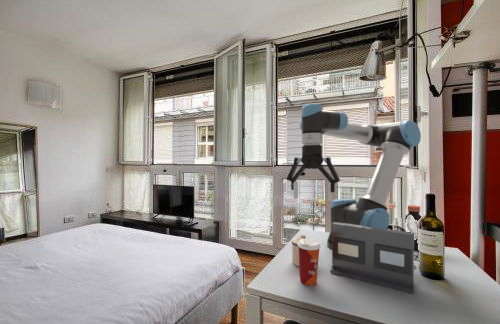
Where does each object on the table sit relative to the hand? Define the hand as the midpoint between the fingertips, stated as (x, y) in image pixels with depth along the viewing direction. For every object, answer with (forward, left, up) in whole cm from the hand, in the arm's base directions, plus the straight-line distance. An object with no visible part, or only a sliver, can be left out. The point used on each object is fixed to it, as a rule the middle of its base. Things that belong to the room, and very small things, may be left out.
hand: (312, 199), depth 98 cm
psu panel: (-4, +20, -27) cm, 34 cm away
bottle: (-47, +32, -27) cm, 63 cm away
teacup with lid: (-4, -5, -27) cm, 28 cm away
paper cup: (+11, +3, -27) cm, 29 cm away
